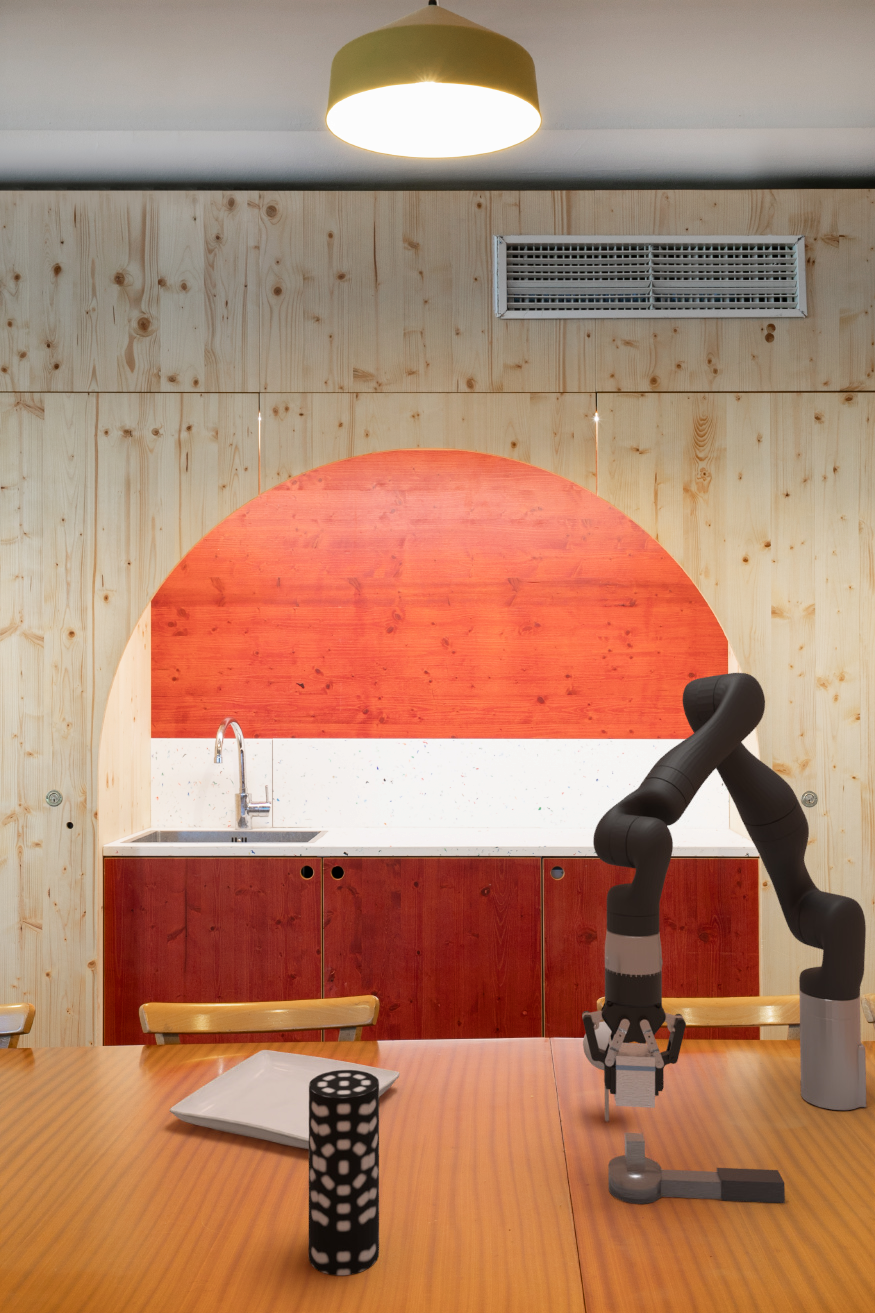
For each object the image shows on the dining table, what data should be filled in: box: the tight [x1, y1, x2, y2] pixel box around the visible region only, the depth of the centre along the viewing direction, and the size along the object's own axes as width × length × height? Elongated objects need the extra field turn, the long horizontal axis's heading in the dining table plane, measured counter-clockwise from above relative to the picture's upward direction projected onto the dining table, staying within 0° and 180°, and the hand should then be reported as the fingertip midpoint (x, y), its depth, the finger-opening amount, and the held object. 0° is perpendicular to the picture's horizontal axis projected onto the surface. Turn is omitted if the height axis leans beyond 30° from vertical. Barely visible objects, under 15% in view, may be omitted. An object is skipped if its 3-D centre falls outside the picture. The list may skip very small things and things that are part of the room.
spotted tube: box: [308, 1070, 380, 1276], centre depth 116 cm, size 8×8×20 cm
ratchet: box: [607, 1132, 786, 1205], centre depth 130 cm, size 22×7×7 cm, turn 85°
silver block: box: [613, 1042, 656, 1109], centre depth 131 cm, size 5×5×6 cm
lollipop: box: [582, 1020, 611, 1122], centre depth 152 cm, size 7×7×15 cm
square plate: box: [169, 1049, 401, 1150], centre depth 156 cm, size 27×27×4 cm
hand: (633, 1092), depth 131 cm, fingers closed on silver block, 5 cm apart
